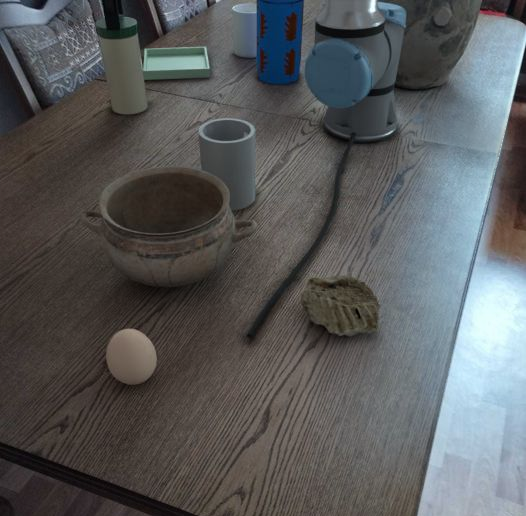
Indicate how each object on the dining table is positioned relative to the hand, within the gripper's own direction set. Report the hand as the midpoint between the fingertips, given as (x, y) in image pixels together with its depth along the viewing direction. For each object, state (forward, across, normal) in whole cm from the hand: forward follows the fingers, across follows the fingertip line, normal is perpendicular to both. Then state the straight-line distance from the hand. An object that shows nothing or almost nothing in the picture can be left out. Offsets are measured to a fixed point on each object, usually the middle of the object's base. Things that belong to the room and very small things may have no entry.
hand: (115, 21), depth 111 cm
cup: (+17, +41, +19) cm, 48 cm away
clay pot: (+17, -9, +69) cm, 72 cm away
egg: (+17, +82, +4) cm, 84 cm away
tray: (+17, -24, +11) cm, 31 cm away
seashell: (+17, +75, +31) cm, 83 cm away
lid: (+1, 0, 0) cm, 1 cm away
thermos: (+17, -15, +36) cm, 43 cm away
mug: (+17, -34, +31) cm, 49 cm away
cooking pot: (+17, +61, +9) cm, 64 cm away
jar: (+17, 0, 0) cm, 17 cm away
